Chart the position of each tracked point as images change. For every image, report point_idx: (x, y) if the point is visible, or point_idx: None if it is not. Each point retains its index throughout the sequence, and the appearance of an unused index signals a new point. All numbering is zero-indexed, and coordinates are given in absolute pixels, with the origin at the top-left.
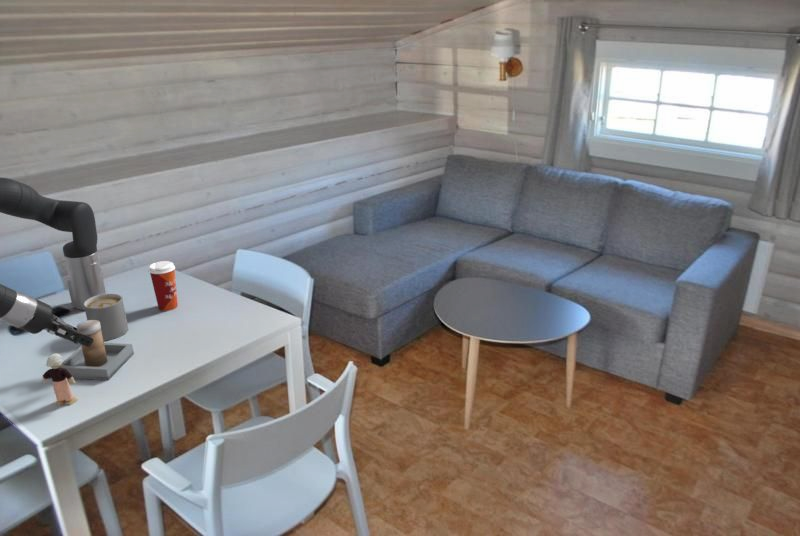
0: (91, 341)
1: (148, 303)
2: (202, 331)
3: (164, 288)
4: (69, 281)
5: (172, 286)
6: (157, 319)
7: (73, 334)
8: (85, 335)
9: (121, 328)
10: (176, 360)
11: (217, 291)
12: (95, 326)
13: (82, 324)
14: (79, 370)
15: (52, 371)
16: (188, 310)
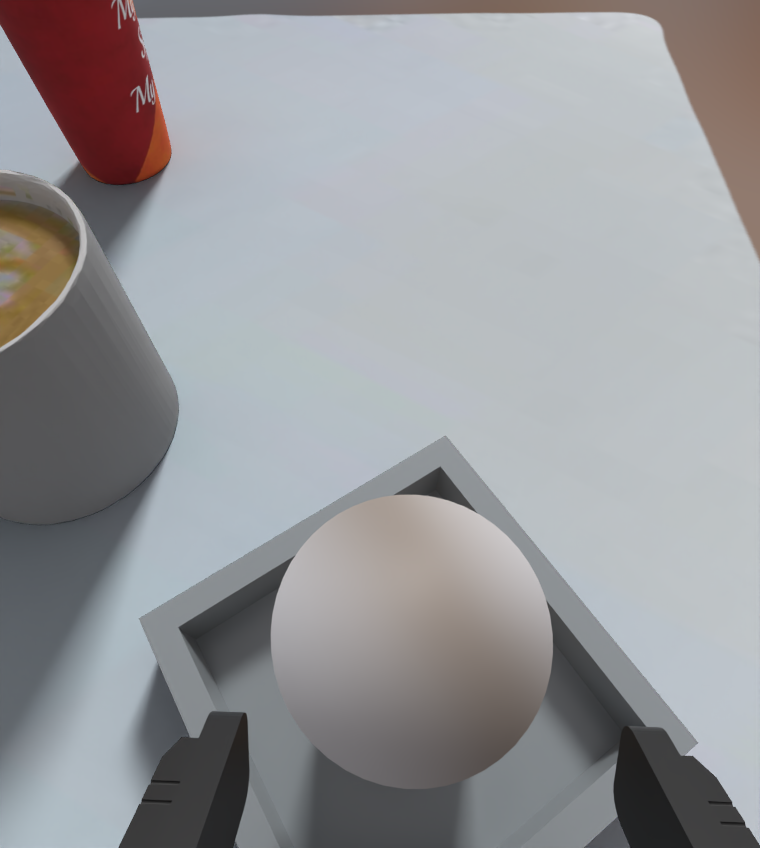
0: (691, 767)
1: None
2: (481, 189)
3: (118, 44)
4: None
5: (137, 22)
6: (191, 231)
7: (246, 784)
8: (701, 819)
9: (164, 373)
10: (679, 375)
11: (204, 25)
12: (528, 589)
13: (339, 670)
14: None
15: None
16: (244, 134)
